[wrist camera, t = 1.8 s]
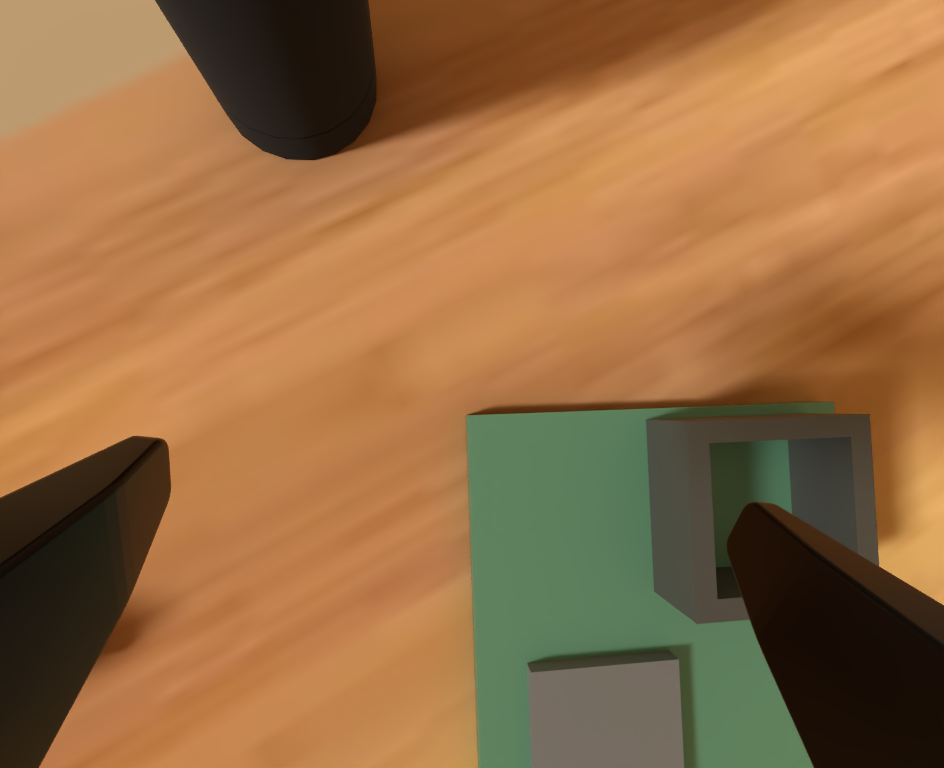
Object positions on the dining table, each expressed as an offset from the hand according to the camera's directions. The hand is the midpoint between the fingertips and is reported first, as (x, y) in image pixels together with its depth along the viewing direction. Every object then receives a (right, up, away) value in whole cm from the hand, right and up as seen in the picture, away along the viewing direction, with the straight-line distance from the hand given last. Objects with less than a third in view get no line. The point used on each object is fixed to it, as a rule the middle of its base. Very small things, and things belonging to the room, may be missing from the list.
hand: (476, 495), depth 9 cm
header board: (+8, -8, +16) cm, 19 cm away
